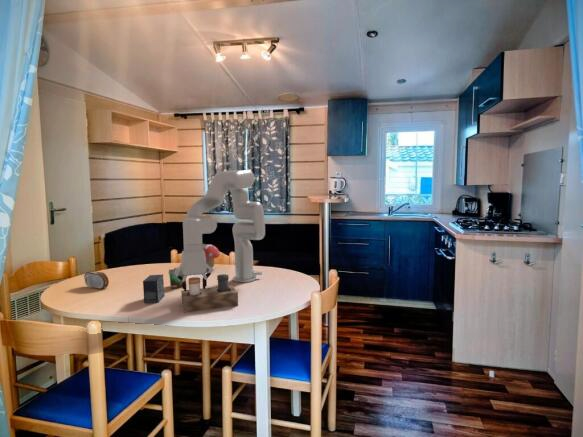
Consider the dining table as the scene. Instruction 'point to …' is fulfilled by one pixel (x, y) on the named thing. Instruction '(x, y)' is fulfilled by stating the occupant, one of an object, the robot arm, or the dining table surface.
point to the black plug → (222, 282)
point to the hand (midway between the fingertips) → (194, 289)
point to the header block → (209, 299)
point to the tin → (96, 280)
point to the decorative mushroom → (211, 254)
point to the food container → (175, 279)
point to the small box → (153, 289)
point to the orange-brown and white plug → (194, 286)
